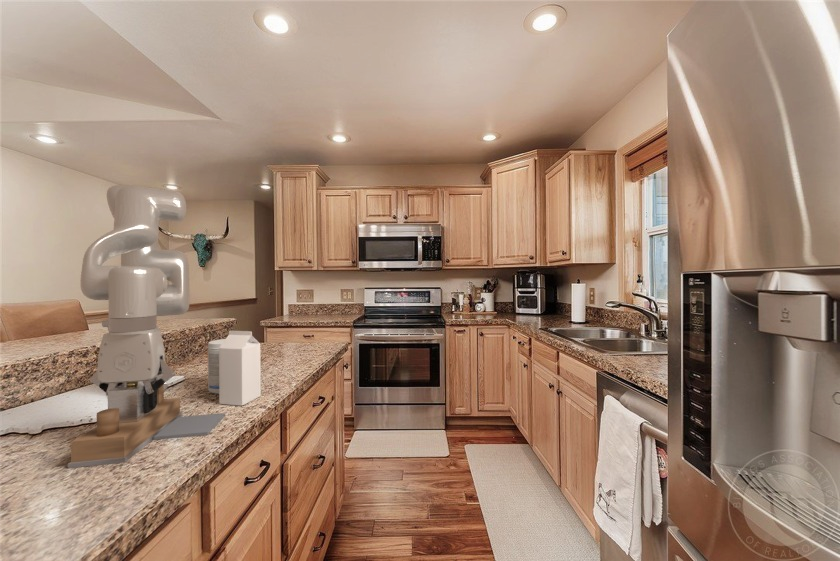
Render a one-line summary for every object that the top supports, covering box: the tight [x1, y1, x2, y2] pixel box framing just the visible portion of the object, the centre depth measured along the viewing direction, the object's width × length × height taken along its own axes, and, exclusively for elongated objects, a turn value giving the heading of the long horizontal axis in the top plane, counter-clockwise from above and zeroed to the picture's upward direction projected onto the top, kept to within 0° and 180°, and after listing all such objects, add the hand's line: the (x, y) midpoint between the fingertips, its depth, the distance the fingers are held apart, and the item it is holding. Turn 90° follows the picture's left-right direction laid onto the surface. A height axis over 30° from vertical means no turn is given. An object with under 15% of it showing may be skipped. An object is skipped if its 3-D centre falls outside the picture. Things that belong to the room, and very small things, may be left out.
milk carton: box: [218, 330, 262, 406], centre depth 88 cm, size 7×7×19 cm
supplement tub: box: [207, 338, 226, 395], centre depth 98 cm, size 10×10×15 cm
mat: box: [152, 412, 226, 441], centre depth 73 cm, size 10×10×1 cm
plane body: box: [67, 384, 183, 469], centre depth 68 cm, size 21×9×10 cm, turn 13°
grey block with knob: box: [107, 381, 157, 423], centre depth 68 cm, size 7×5×7 cm
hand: (134, 411), depth 68 cm, fingers closed on grey block with knob, 5 cm apart
